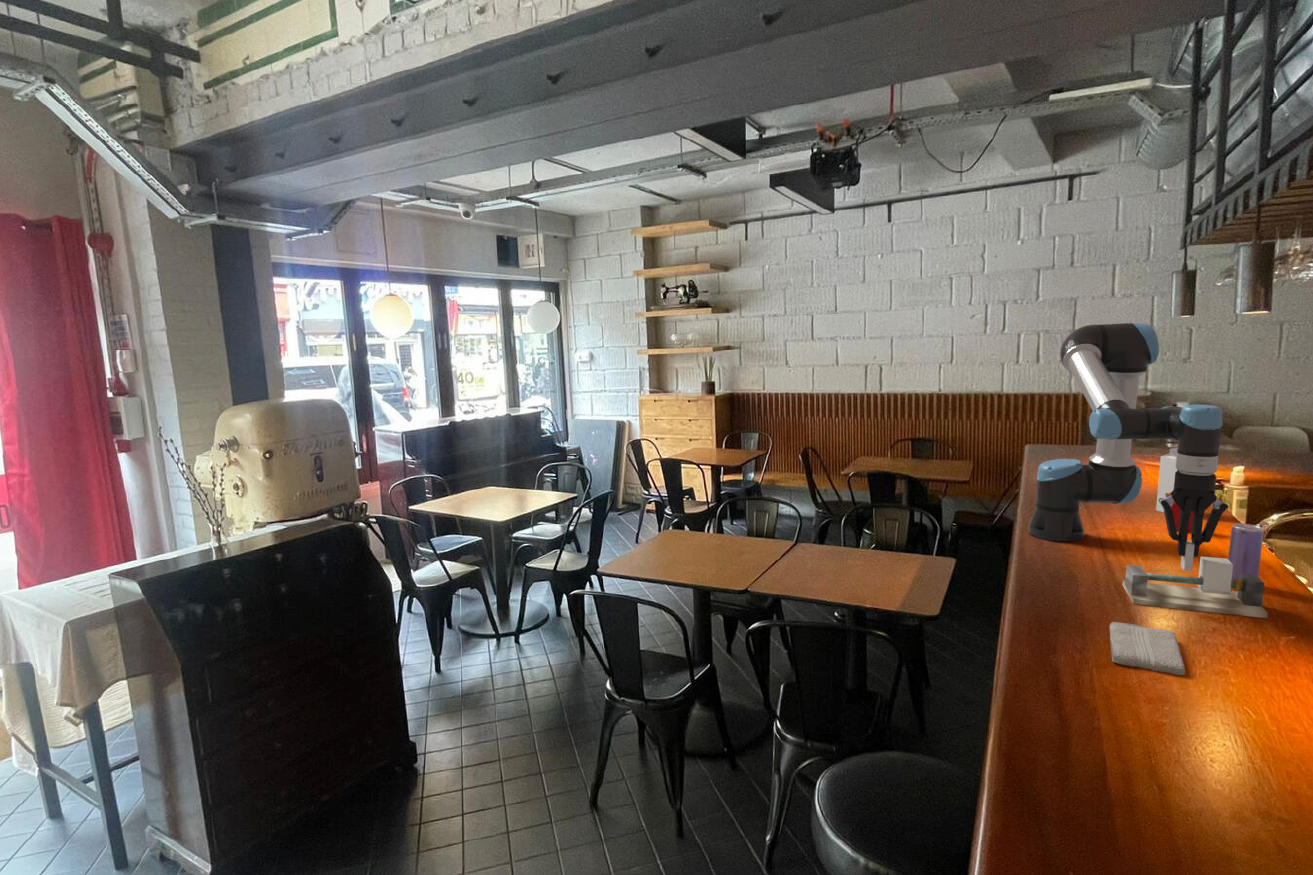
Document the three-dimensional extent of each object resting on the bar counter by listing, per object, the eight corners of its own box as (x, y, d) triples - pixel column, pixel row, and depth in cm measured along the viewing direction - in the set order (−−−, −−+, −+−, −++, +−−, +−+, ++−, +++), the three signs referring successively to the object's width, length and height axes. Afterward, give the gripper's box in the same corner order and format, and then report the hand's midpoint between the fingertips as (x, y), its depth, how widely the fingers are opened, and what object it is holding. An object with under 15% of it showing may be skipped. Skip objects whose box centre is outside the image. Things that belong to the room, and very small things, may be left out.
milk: (1186, 513, 229) (1193, 448, 225) (1172, 515, 227) (1179, 450, 224) (1168, 508, 235) (1175, 445, 231) (1155, 510, 233) (1161, 447, 229)
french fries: (1195, 530, 212) (1199, 492, 210) (1196, 533, 209) (1200, 495, 207) (1161, 526, 216) (1164, 489, 214) (1162, 530, 213) (1165, 492, 211)
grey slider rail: (1133, 603, 162) (1135, 575, 161) (1122, 585, 173) (1124, 558, 172) (1267, 618, 152) (1270, 588, 151) (1247, 597, 163) (1250, 569, 162)
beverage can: (1250, 591, 166) (1256, 532, 164) (1220, 583, 172) (1226, 525, 169) (1261, 585, 169) (1268, 527, 166) (1232, 578, 174) (1239, 521, 172)
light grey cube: (1202, 592, 159) (1206, 562, 158) (1197, 586, 163) (1200, 556, 162) (1229, 594, 157) (1233, 564, 156) (1223, 588, 161) (1227, 558, 160)
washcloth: (1173, 640, 145) (1174, 626, 144) (1187, 679, 130) (1188, 664, 129) (1106, 629, 151) (1107, 616, 150) (1112, 666, 136) (1113, 651, 135)
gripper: (1166, 474, 157) (1157, 571, 161) (1237, 477, 152) (1226, 577, 156) (1157, 467, 164) (1149, 560, 168) (1224, 469, 159) (1214, 566, 163)
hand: (1186, 568), depth 162 cm, fingers closed
